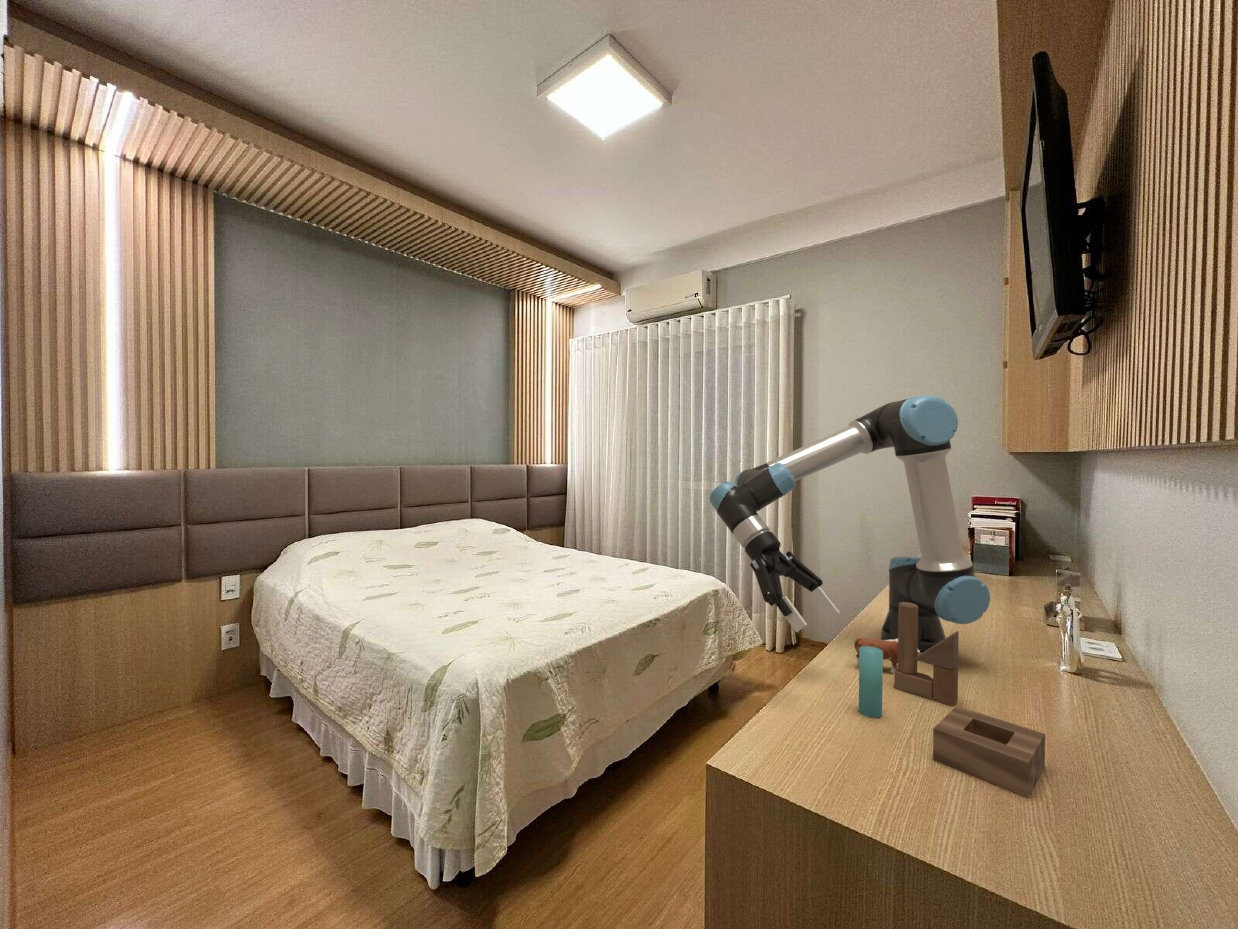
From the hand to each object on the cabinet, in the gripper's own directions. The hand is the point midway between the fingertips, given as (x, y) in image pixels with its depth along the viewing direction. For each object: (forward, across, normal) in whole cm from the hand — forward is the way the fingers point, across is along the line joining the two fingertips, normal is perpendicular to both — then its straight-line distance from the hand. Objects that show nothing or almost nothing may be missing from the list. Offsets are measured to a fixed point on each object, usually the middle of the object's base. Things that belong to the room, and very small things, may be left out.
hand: (819, 622), depth 103 cm
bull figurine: (+14, -23, -8) cm, 28 cm away
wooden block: (+21, -17, 0) cm, 27 cm away
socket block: (+31, +2, +10) cm, 33 cm away
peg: (+18, 0, -3) cm, 18 cm away
